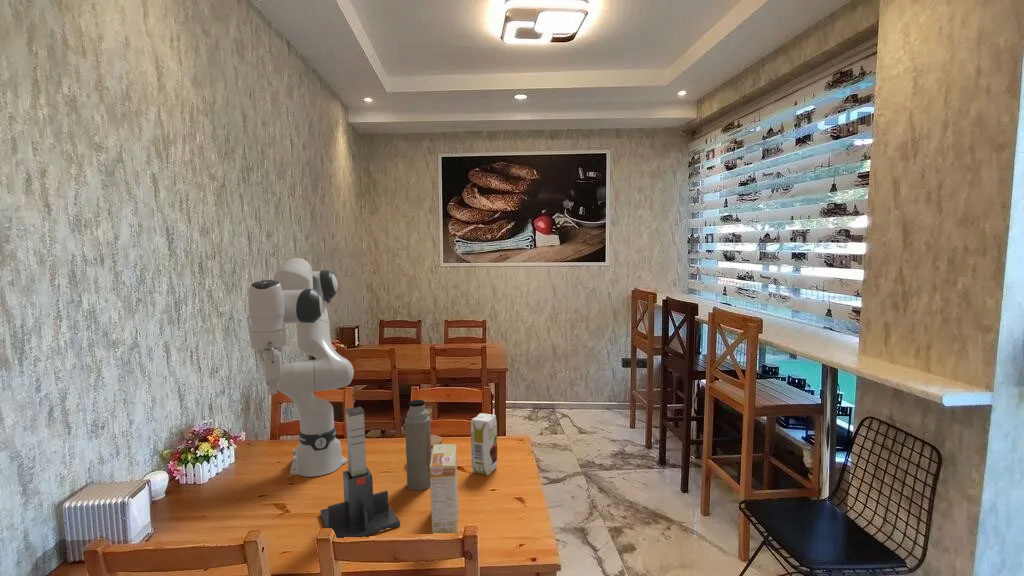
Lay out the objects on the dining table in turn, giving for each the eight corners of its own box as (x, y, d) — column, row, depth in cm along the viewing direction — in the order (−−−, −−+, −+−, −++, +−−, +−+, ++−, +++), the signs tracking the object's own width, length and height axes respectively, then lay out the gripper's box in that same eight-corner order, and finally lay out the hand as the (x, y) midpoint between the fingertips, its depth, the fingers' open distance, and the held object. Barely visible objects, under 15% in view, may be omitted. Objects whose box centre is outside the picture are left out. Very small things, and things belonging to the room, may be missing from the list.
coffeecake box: (434, 507, 146) (433, 444, 145) (458, 505, 147) (457, 443, 145) (430, 536, 131) (428, 466, 130) (457, 535, 132) (455, 465, 130)
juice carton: (469, 473, 168) (468, 419, 166) (480, 463, 176) (479, 411, 174) (489, 477, 165) (488, 422, 163) (499, 466, 173) (498, 414, 171)
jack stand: (320, 515, 143) (318, 468, 142) (381, 498, 152) (380, 454, 151) (332, 547, 127) (330, 495, 126) (400, 526, 136) (398, 477, 135)
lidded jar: (444, 464, 175) (444, 439, 174) (414, 469, 172) (413, 443, 171) (440, 452, 185) (439, 428, 184) (411, 456, 182) (410, 432, 181)
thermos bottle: (435, 480, 163) (433, 398, 161) (426, 491, 156) (424, 406, 153) (413, 478, 165) (410, 397, 163) (403, 489, 157) (400, 404, 155)
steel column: (348, 489, 140) (345, 409, 138) (363, 485, 142) (360, 406, 140) (352, 495, 136) (348, 413, 134) (367, 491, 138) (364, 410, 136)
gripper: (285, 345, 126) (288, 397, 128) (277, 333, 144) (280, 379, 145) (258, 348, 123) (261, 401, 124) (253, 335, 141) (256, 382, 142)
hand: (271, 389), depth 135 cm, fingers open, 8 cm apart
